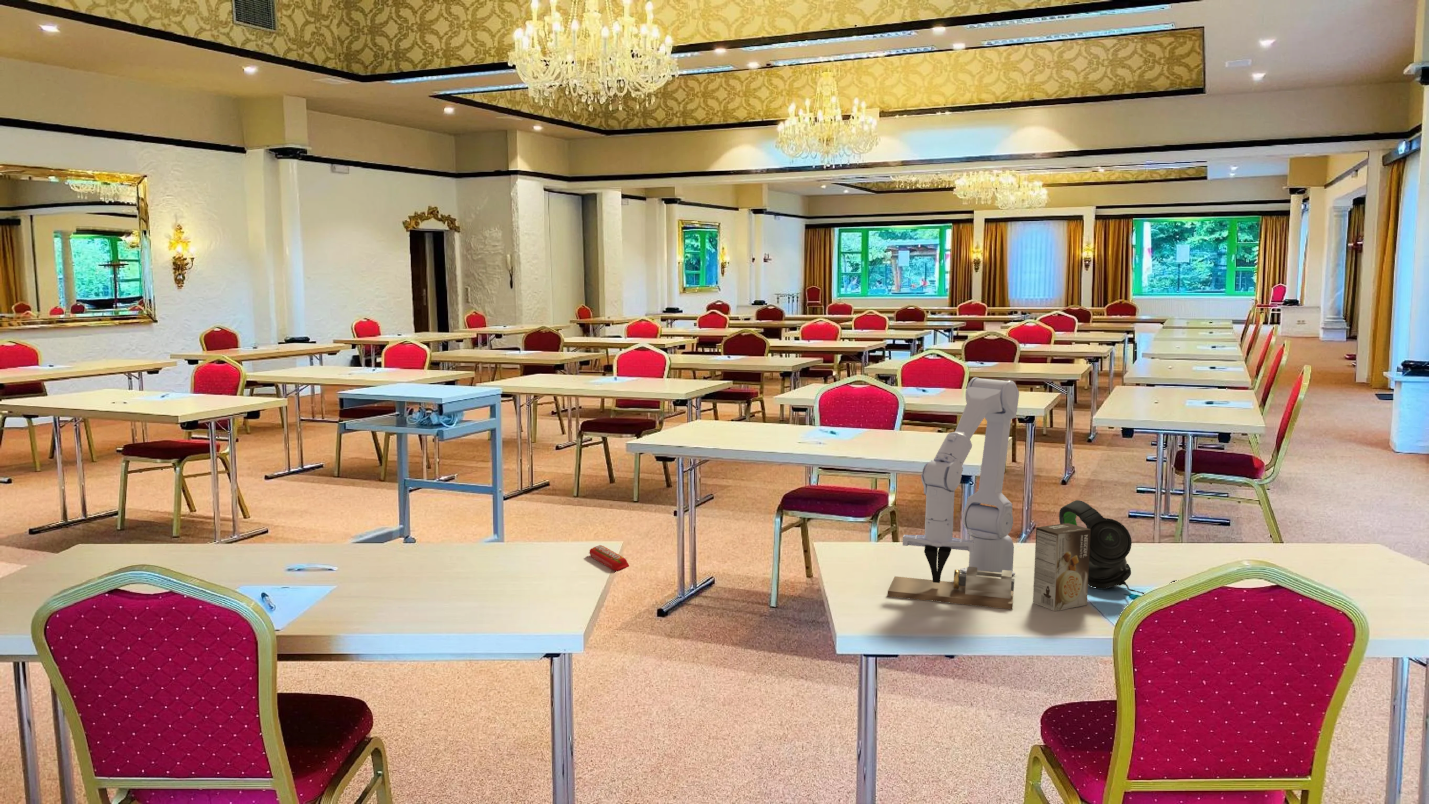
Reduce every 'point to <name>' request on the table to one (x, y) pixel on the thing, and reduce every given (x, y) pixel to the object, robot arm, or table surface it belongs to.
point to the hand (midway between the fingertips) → (936, 581)
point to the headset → (1102, 545)
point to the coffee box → (1061, 566)
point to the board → (960, 589)
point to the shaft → (961, 580)
